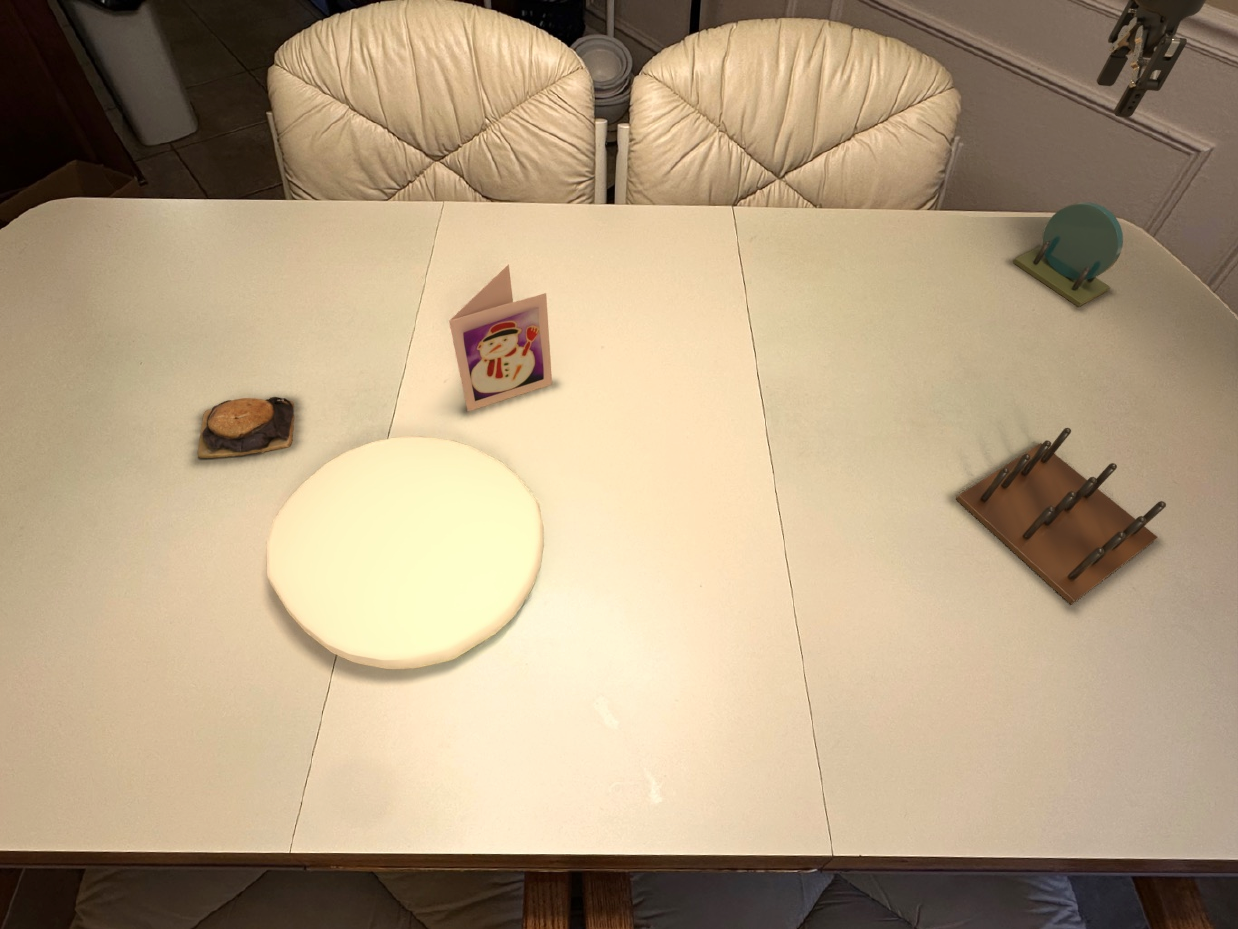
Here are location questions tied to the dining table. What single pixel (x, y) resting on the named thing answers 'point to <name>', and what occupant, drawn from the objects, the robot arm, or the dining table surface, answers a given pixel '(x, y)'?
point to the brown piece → (246, 427)
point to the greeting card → (501, 344)
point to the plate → (406, 551)
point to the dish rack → (1058, 519)
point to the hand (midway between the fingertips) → (1112, 99)
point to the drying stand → (1060, 277)
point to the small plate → (1083, 240)
